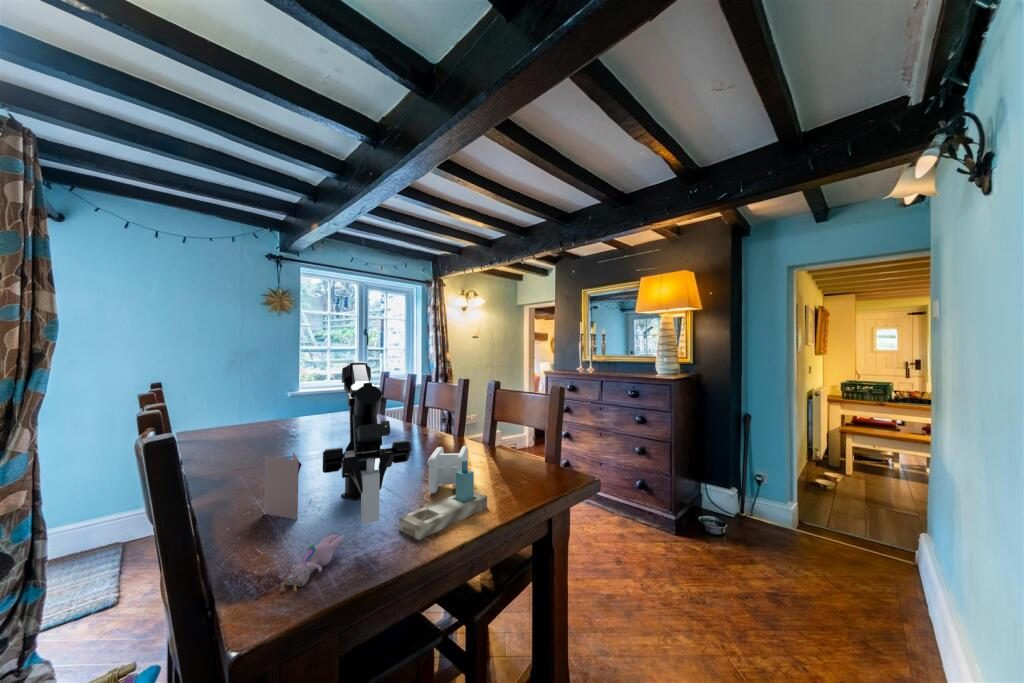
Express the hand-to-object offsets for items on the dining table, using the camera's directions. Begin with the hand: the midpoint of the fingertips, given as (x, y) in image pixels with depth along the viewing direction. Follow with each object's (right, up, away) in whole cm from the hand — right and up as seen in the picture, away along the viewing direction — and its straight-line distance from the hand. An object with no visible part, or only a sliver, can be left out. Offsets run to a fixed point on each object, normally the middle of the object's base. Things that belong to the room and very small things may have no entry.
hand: (371, 490), depth 78 cm
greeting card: (-30, -13, +16) cm, 37 cm away
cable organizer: (+11, -14, +36) cm, 40 cm away
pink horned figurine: (-8, -12, -8) cm, 16 cm away
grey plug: (-1, -7, +1) cm, 7 cm away
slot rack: (+14, -13, +14) cm, 24 cm away
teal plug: (+18, -13, +19) cm, 29 cm away
